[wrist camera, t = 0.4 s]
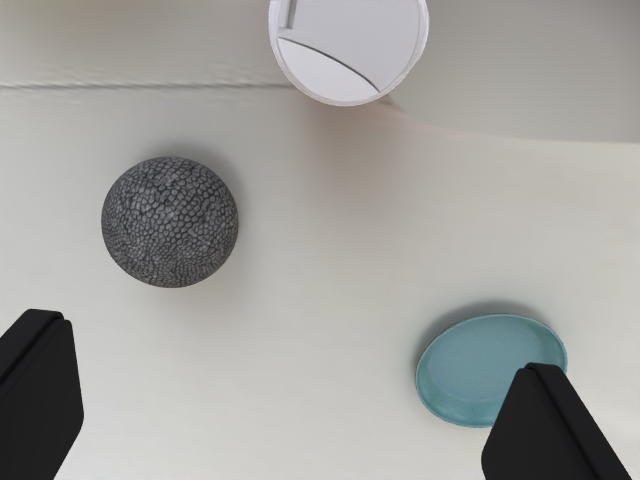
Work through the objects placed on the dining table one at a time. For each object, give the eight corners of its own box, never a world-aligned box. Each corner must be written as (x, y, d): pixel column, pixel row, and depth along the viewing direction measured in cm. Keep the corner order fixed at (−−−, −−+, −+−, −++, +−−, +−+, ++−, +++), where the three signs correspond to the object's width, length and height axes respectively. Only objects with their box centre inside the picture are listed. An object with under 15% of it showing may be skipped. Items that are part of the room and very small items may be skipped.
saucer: (455, 278, 45) (462, 294, 42) (586, 325, 47) (599, 343, 45) (387, 386, 51) (390, 405, 49) (505, 423, 53) (514, 443, 51)
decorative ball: (114, 218, 42) (59, 278, 33) (153, 118, 38) (102, 156, 29) (219, 265, 44) (193, 334, 35) (266, 176, 40) (250, 228, 31)
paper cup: (278, 59, 36) (254, 94, 23) (295, -58, 32) (279, -91, 20) (378, 80, 36) (408, 126, 24) (406, -32, 33) (458, -48, 21)
